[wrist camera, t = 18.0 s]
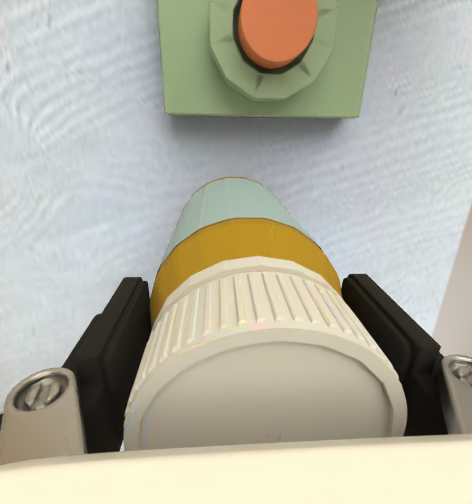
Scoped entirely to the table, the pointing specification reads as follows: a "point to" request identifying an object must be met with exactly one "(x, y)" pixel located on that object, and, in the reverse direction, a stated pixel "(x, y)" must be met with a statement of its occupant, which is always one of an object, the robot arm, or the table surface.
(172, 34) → the button housing
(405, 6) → the table surface
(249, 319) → the bottle
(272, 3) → the orange button cap
